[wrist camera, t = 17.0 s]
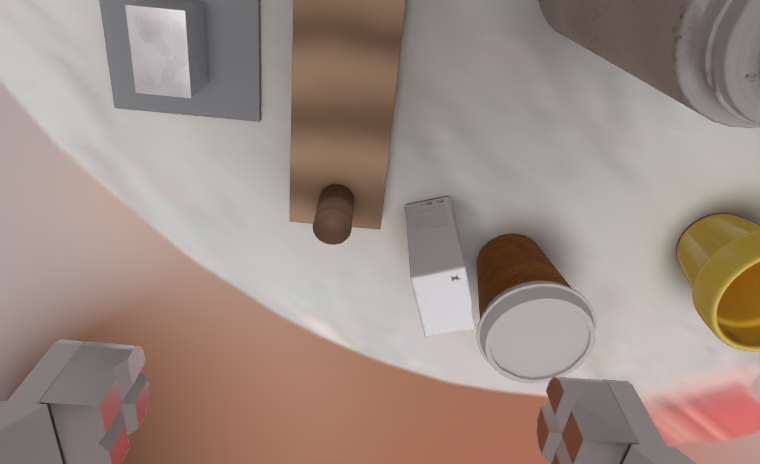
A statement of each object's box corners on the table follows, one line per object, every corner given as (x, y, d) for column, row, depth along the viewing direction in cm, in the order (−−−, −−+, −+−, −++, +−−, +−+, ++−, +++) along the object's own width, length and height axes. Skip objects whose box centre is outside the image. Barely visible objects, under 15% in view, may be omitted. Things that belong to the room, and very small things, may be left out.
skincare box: (403, 204, 50) (409, 276, 40) (449, 194, 50) (467, 265, 39) (415, 258, 53) (424, 339, 43) (459, 250, 53) (478, 329, 42)
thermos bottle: (646, -89, 39) (1095, -121, 14) (644, 26, 43) (998, 156, 18) (534, -62, 40) (777, -48, 15) (542, 49, 44) (748, 201, 19)
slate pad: (95, -55, 40) (91, -55, 40) (259, -37, 41) (258, -37, 40) (117, 105, 46) (114, 108, 45) (260, 119, 46) (259, 121, 46)
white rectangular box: (152, -4, 41) (125, 4, 37) (205, 2, 41) (184, 10, 37) (160, 76, 44) (135, 92, 40) (210, 81, 44) (191, 98, 40)
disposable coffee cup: (572, 227, 51) (621, 303, 41) (539, 307, 56) (576, 394, 45) (474, 210, 51) (499, 284, 40) (449, 293, 55) (465, 378, 45)
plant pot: (793, 209, 50) (877, 266, 42) (729, 297, 55) (793, 364, 47) (693, 181, 49) (759, 234, 41) (637, 274, 54) (686, 338, 45)
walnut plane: (299, -33, 41) (282, -25, 34) (406, -21, 41) (411, -12, 34) (294, 206, 50) (280, 250, 43) (380, 213, 51) (380, 259, 44)
